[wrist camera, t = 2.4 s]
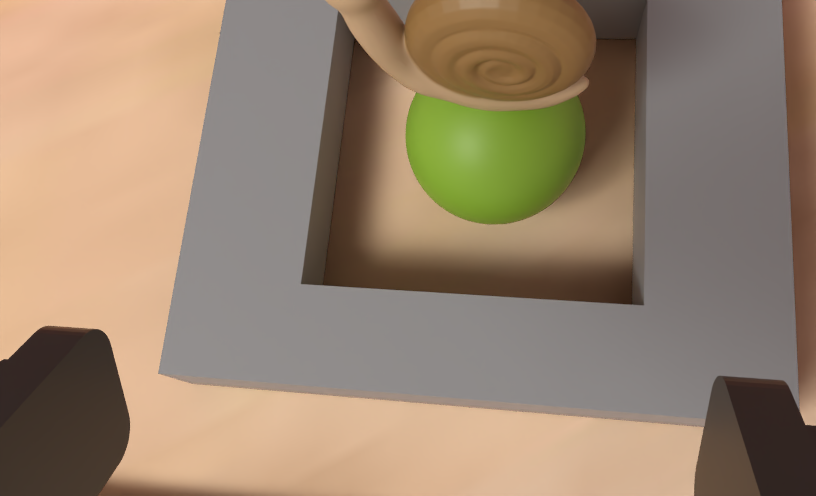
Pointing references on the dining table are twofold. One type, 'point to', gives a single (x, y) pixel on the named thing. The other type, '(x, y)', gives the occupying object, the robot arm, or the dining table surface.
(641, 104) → the gray square frame
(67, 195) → the dining table surface
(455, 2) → the snail figurine
